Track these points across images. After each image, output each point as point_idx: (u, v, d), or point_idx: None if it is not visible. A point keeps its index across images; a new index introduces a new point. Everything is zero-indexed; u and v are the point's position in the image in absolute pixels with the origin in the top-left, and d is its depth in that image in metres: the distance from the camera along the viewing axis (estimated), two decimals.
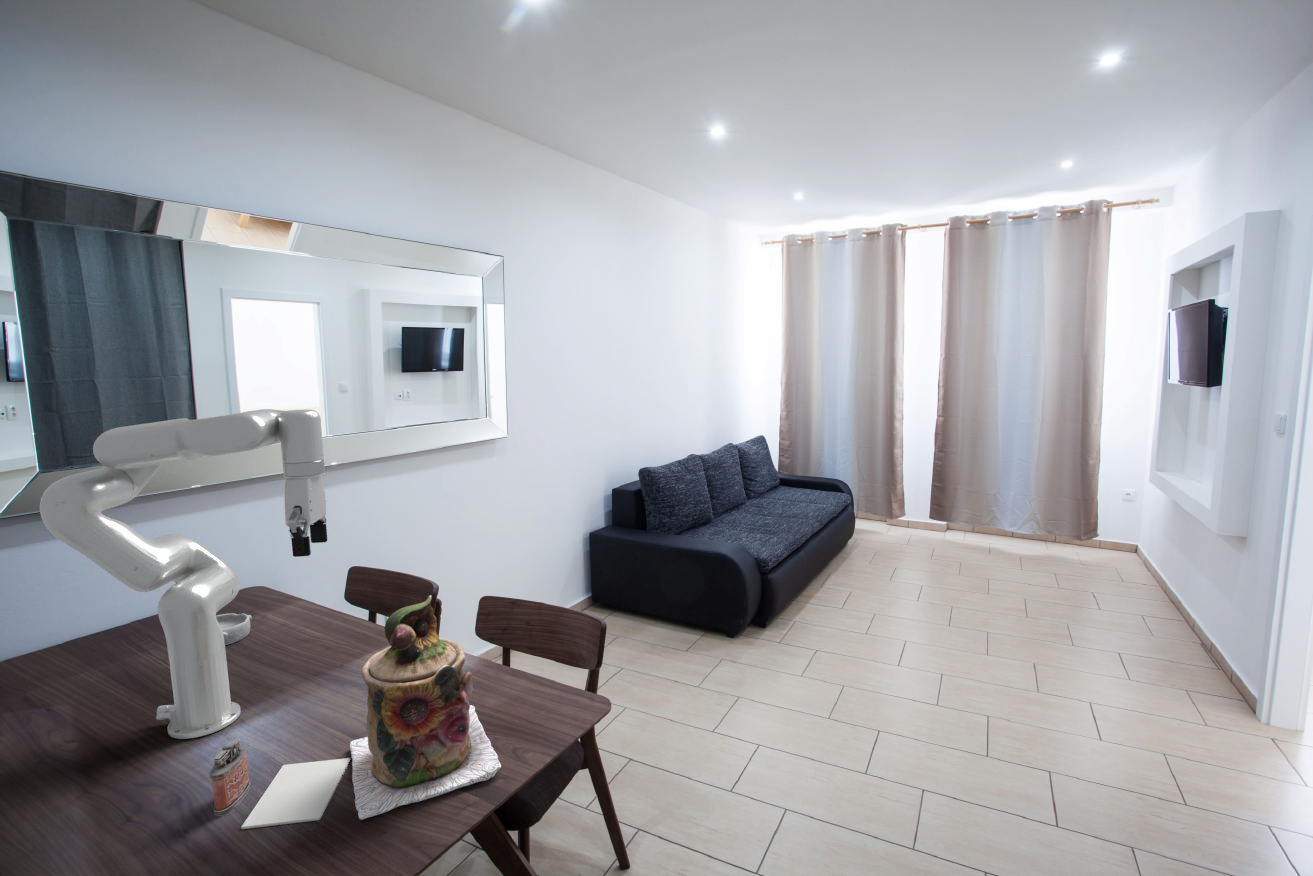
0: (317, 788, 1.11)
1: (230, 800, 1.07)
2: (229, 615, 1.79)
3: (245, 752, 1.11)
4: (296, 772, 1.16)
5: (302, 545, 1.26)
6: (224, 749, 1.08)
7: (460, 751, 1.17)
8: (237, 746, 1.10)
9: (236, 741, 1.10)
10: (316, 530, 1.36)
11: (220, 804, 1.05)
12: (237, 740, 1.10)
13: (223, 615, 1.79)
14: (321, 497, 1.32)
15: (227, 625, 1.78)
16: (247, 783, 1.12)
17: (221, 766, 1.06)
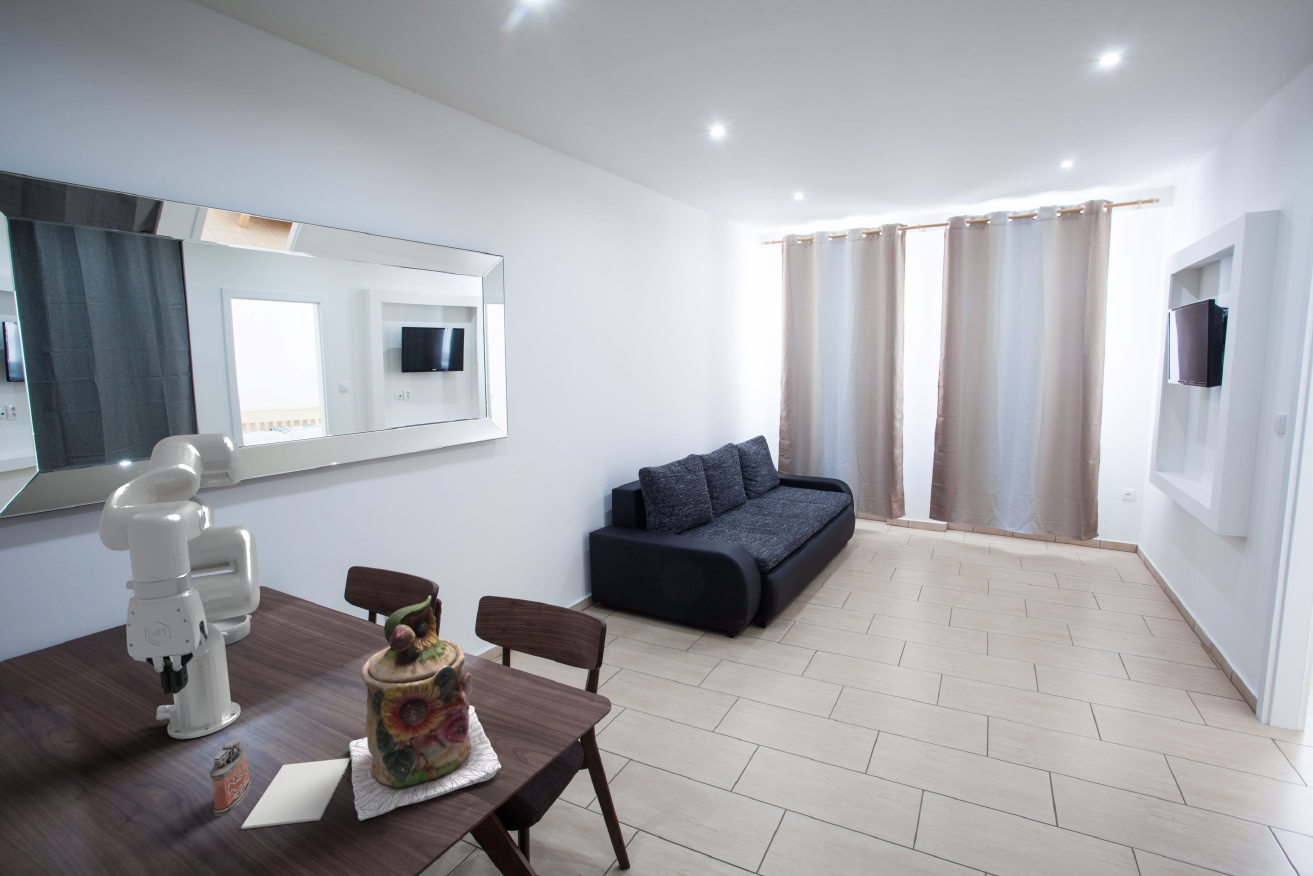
0: (317, 788, 1.11)
1: (230, 800, 1.07)
2: None
3: (245, 752, 1.11)
4: (296, 772, 1.16)
5: (186, 673, 1.06)
6: (224, 749, 1.08)
7: (460, 752, 1.17)
8: (237, 746, 1.10)
9: (236, 741, 1.10)
10: None
11: (220, 804, 1.05)
12: (237, 740, 1.10)
13: None
14: None
15: (227, 625, 1.78)
16: (247, 783, 1.12)
17: (221, 766, 1.06)
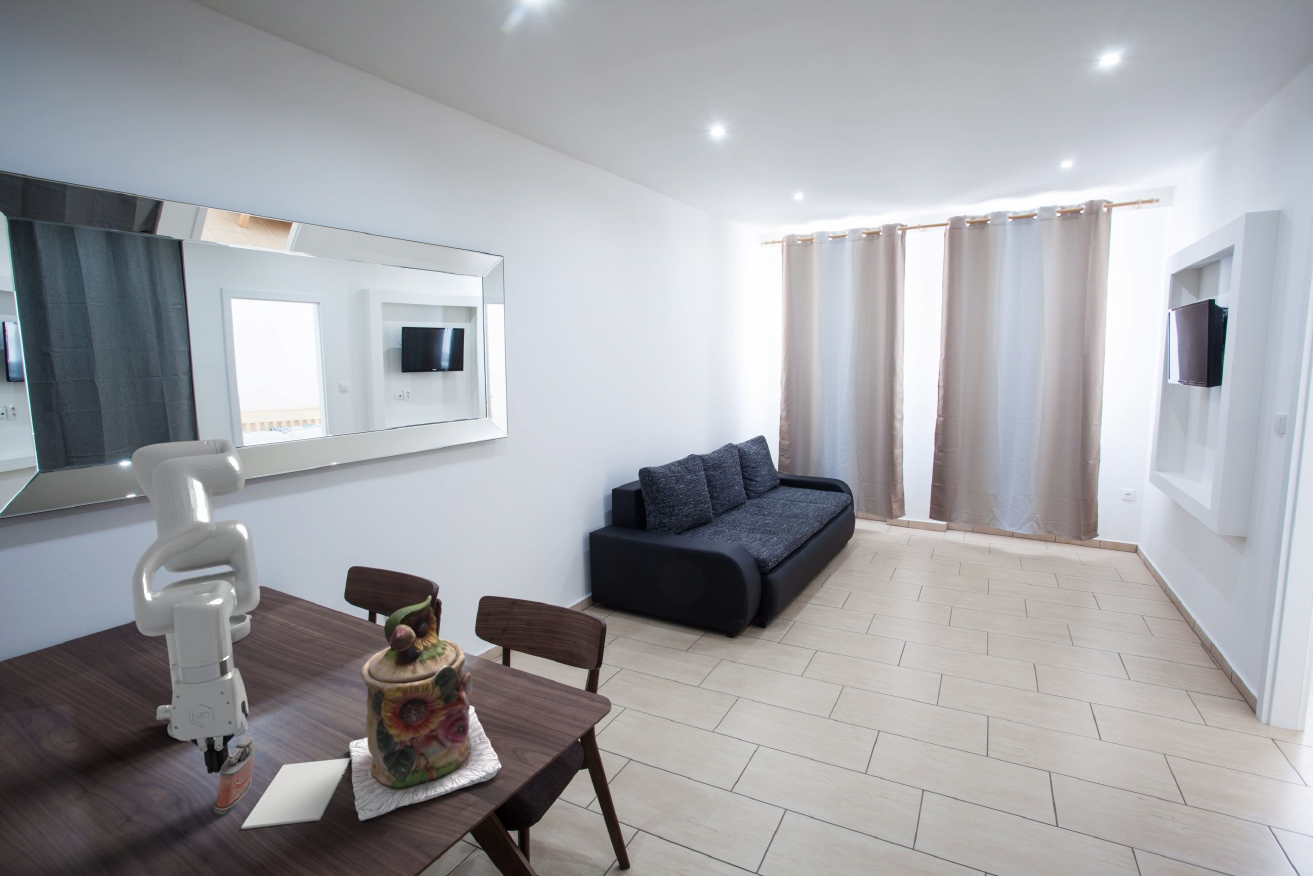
0: (317, 788, 1.11)
1: (232, 800, 1.07)
2: None
3: (255, 752, 1.11)
4: (296, 772, 1.16)
5: (227, 752, 1.09)
6: (238, 747, 1.08)
7: (460, 752, 1.17)
8: (249, 745, 1.10)
9: (249, 740, 1.10)
10: None
11: (223, 802, 1.05)
12: (250, 739, 1.11)
13: None
14: None
15: None
16: (249, 782, 1.12)
17: (232, 764, 1.06)
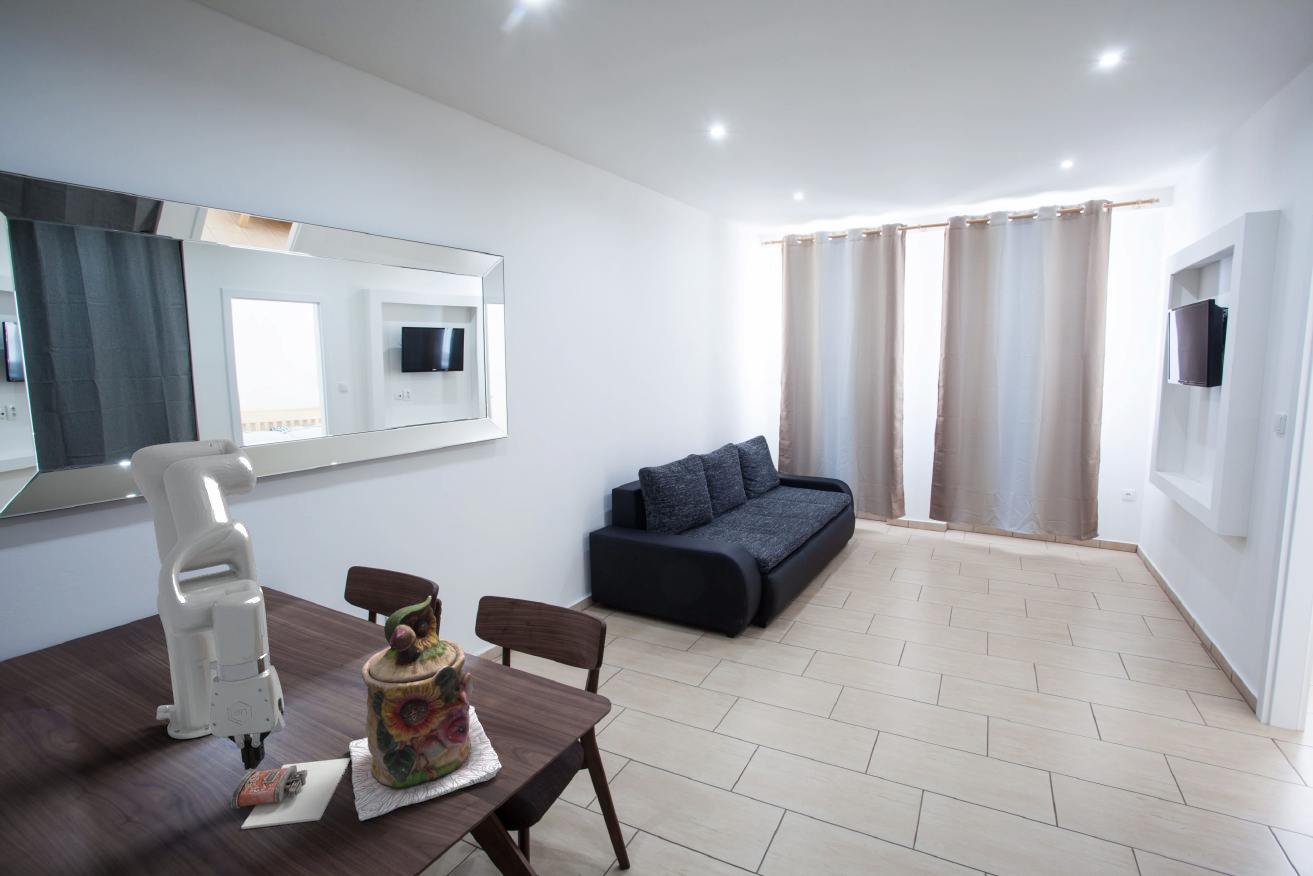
0: (317, 788, 1.11)
1: None
2: None
3: None
4: None
5: (263, 748, 1.10)
6: (301, 780, 1.10)
7: (460, 751, 1.17)
8: None
9: (306, 776, 1.13)
10: None
11: (244, 803, 1.05)
12: (306, 775, 1.13)
13: None
14: None
15: None
16: None
17: (285, 790, 1.08)
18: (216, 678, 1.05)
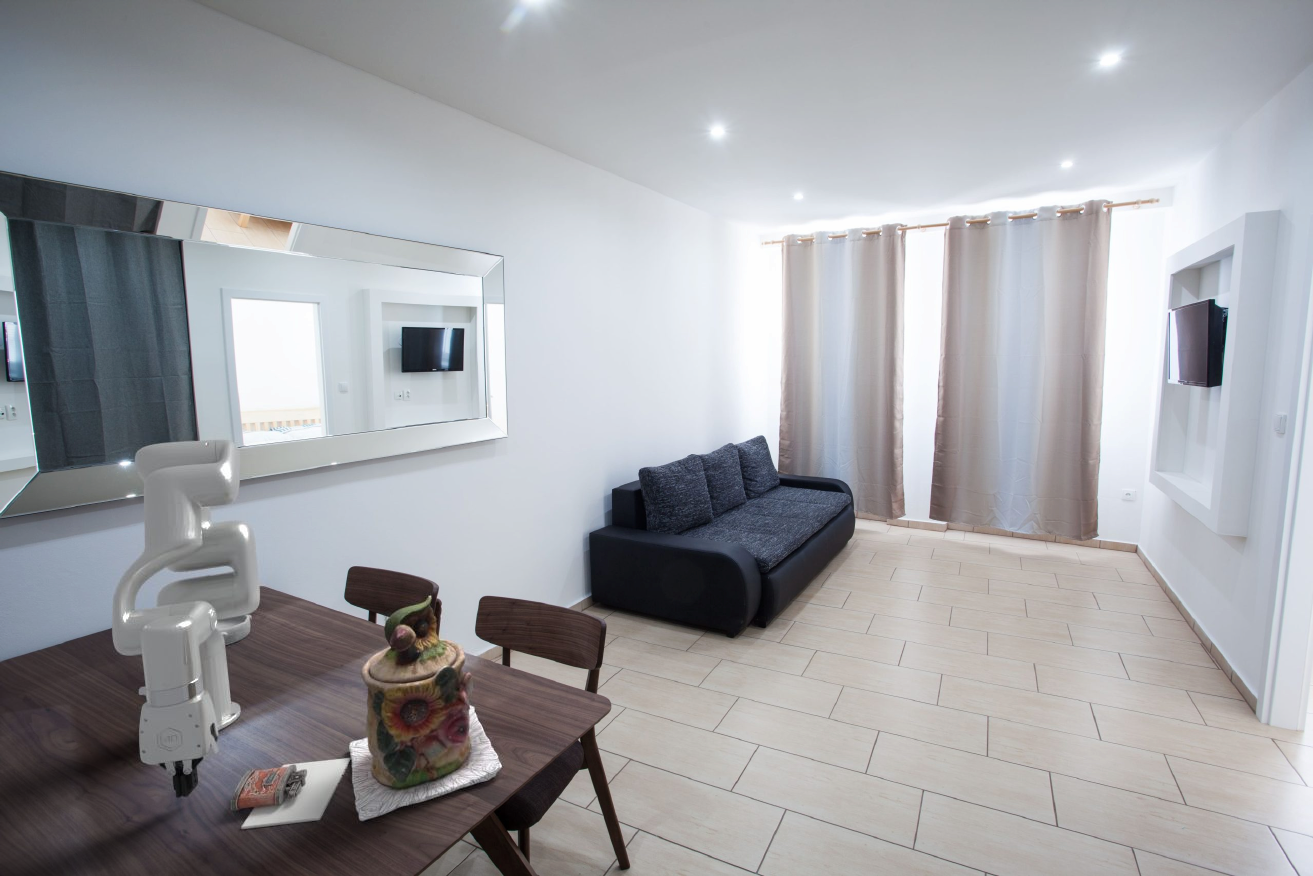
0: (317, 788, 1.11)
1: None
2: None
3: None
4: None
5: (196, 775, 1.08)
6: (301, 781, 1.10)
7: (460, 752, 1.17)
8: None
9: (305, 775, 1.12)
10: None
11: (244, 806, 1.05)
12: (306, 774, 1.13)
13: None
14: None
15: (227, 625, 1.78)
16: None
17: (285, 792, 1.08)
18: (146, 704, 1.04)
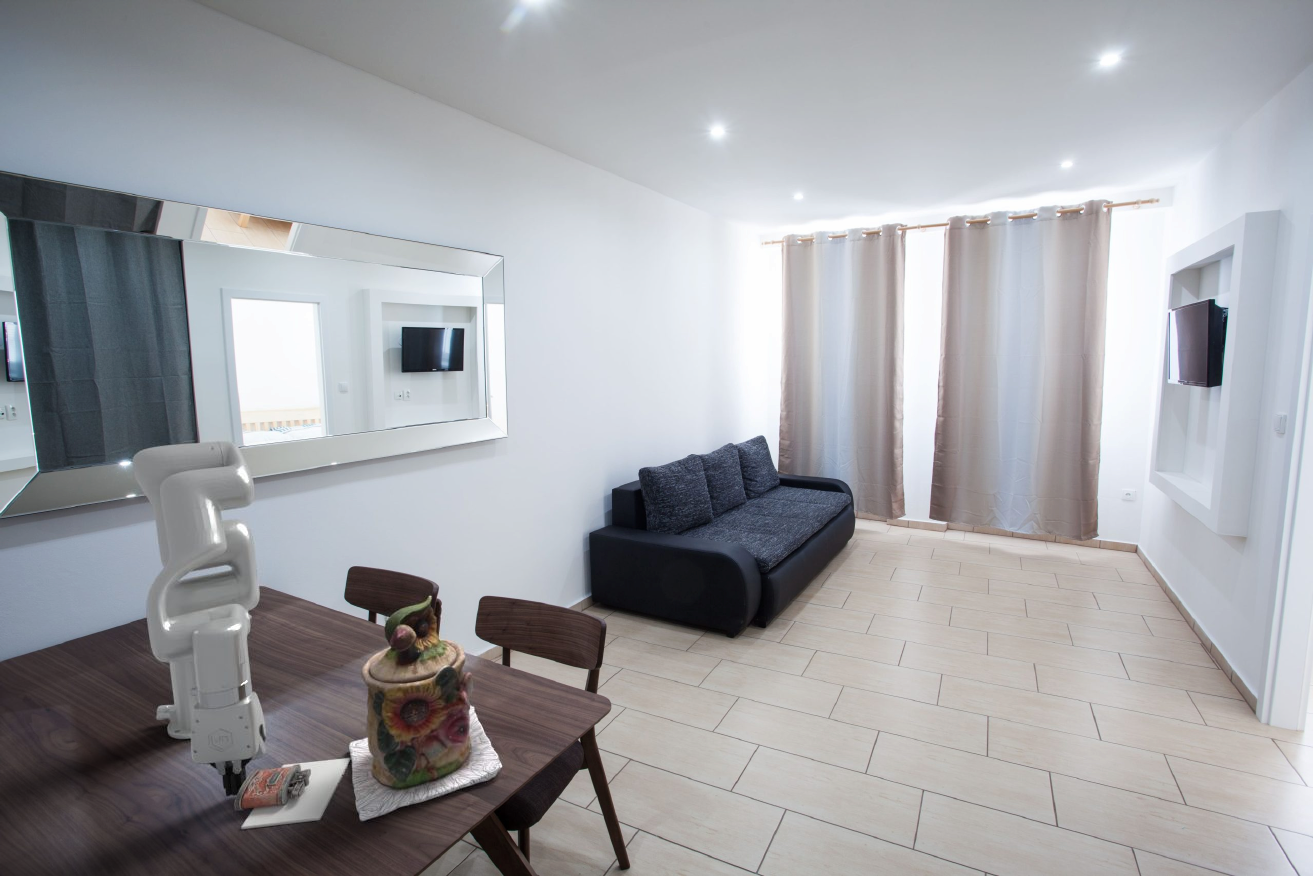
0: (317, 788, 1.11)
1: None
2: None
3: None
4: None
5: (245, 774, 1.10)
6: (304, 781, 1.10)
7: (460, 751, 1.17)
8: None
9: (309, 775, 1.12)
10: None
11: (248, 806, 1.05)
12: (310, 774, 1.13)
13: None
14: None
15: None
16: None
17: (288, 792, 1.08)
18: (197, 705, 1.05)
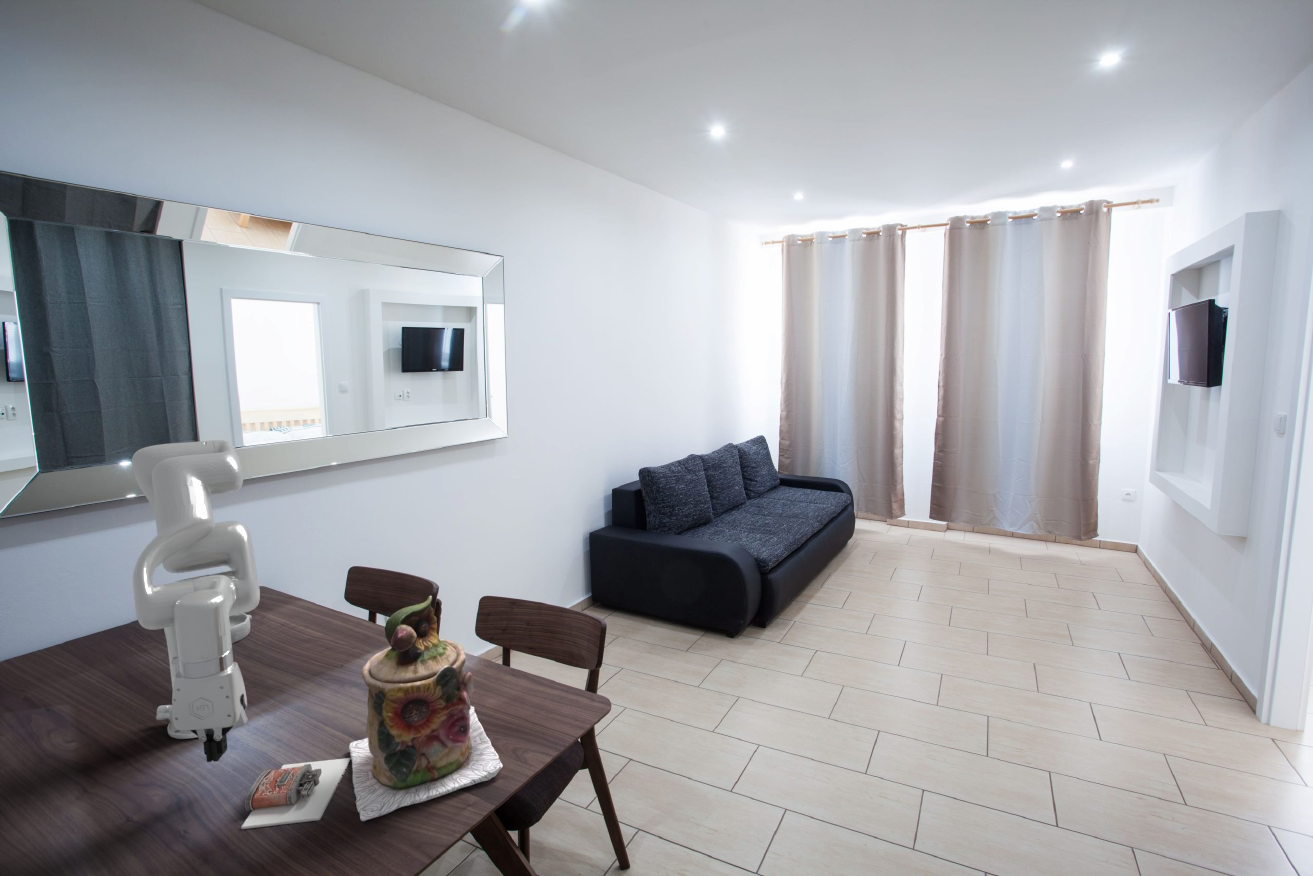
0: (317, 788, 1.11)
1: None
2: None
3: None
4: None
5: (226, 741, 1.12)
6: (314, 781, 1.10)
7: (461, 751, 1.17)
8: None
9: (319, 775, 1.12)
10: None
11: (258, 806, 1.06)
12: (320, 773, 1.12)
13: None
14: None
15: None
16: None
17: (298, 791, 1.08)
18: (178, 674, 1.07)
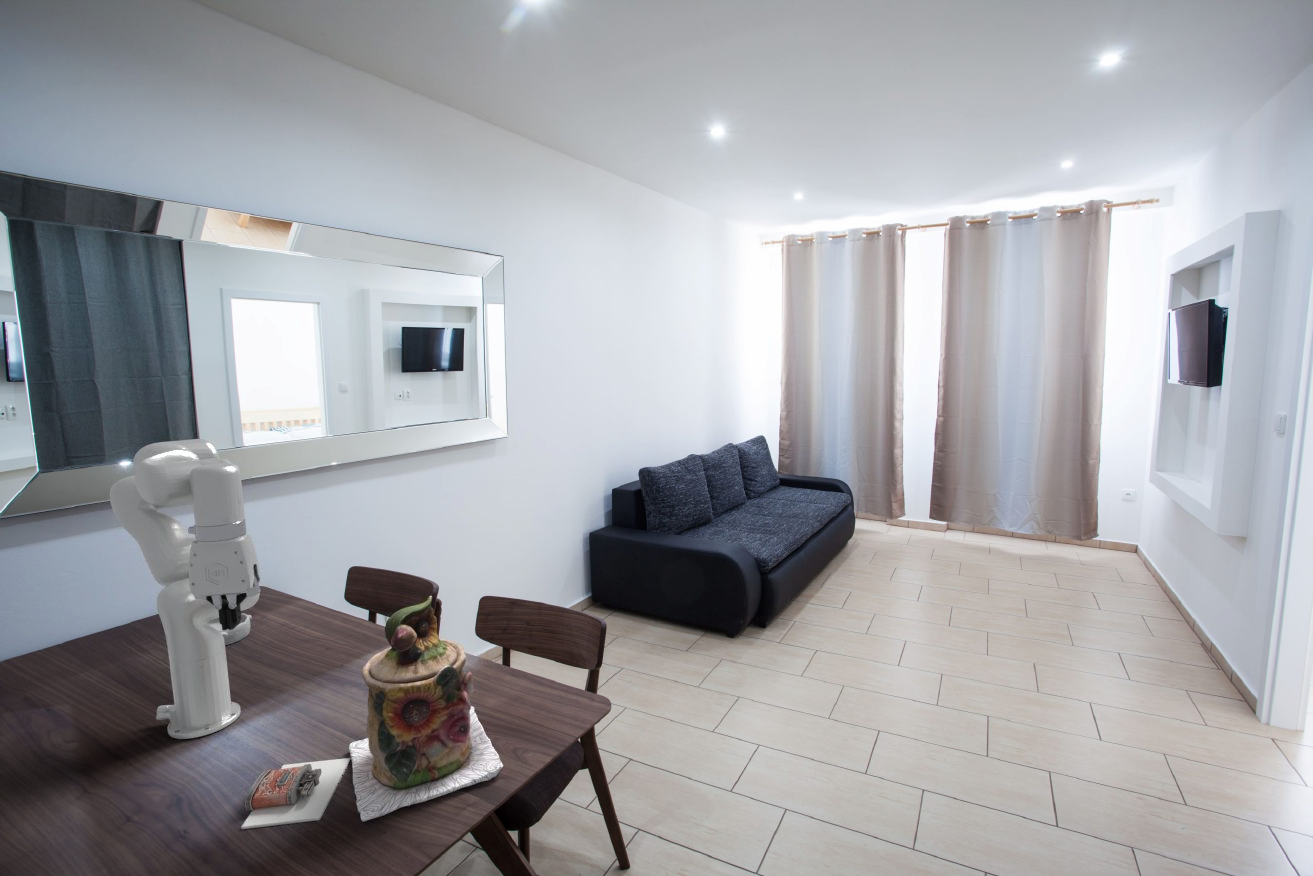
0: (317, 788, 1.11)
1: None
2: None
3: None
4: None
5: (240, 612, 1.17)
6: (314, 781, 1.10)
7: (461, 751, 1.17)
8: None
9: (319, 775, 1.12)
10: None
11: (258, 806, 1.06)
12: (320, 773, 1.12)
13: None
14: None
15: None
16: None
17: (298, 791, 1.08)
18: (195, 541, 1.12)
